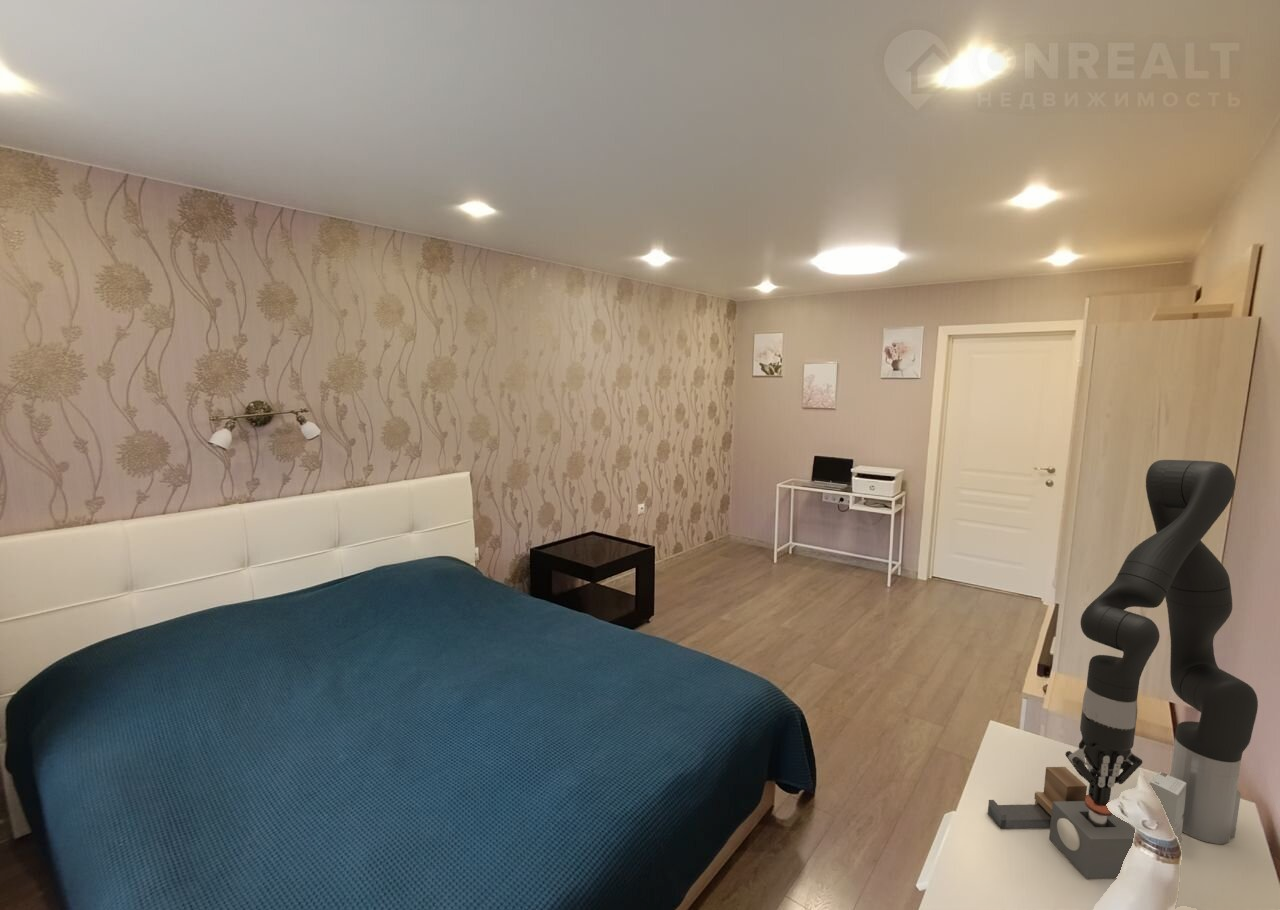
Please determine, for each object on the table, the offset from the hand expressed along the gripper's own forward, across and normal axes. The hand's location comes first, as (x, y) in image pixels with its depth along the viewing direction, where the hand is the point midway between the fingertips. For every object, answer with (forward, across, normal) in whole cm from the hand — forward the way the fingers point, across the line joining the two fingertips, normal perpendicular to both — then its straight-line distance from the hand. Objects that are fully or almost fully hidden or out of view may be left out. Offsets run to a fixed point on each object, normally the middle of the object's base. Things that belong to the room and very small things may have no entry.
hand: (1098, 801), depth 103 cm
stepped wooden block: (+11, -1, -9) cm, 14 cm away
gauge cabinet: (+12, 0, 0) cm, 12 cm away
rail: (+12, +3, -9) cm, 15 cm away
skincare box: (+12, -17, -4) cm, 21 cm away
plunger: (+7, 0, 0) cm, 7 cm away
